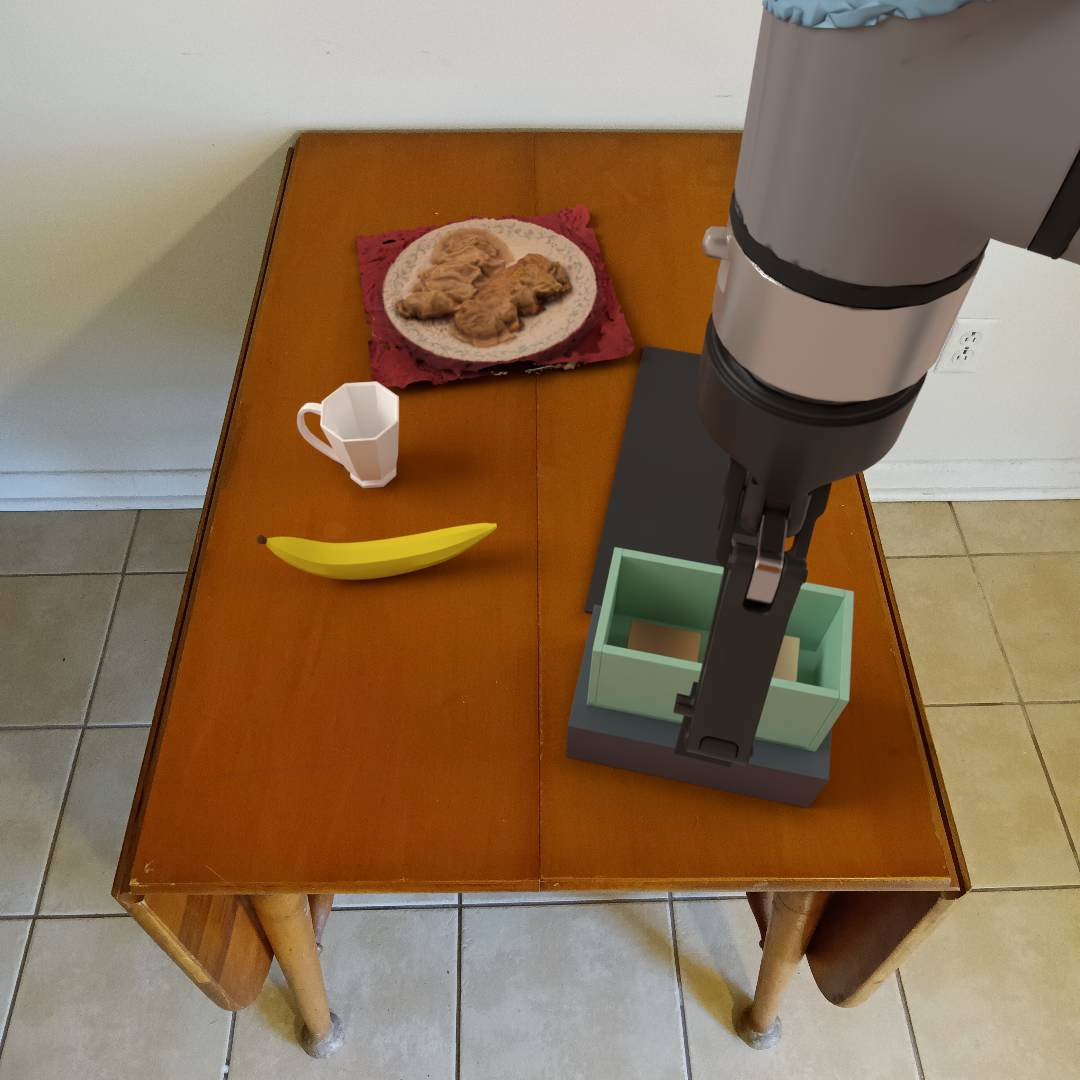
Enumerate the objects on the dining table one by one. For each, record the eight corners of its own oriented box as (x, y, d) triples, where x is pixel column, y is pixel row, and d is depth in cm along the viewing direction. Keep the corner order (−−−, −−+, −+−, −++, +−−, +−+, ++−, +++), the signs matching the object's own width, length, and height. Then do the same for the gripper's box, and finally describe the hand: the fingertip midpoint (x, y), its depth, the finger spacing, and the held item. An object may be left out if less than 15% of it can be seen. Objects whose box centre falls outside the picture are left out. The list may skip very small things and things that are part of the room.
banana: (501, 572, 80) (499, 529, 75) (274, 595, 79) (255, 553, 74) (498, 543, 82) (495, 500, 77) (275, 565, 81) (257, 523, 75)
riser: (816, 685, 74) (836, 650, 69) (808, 808, 69) (829, 780, 64) (590, 640, 77) (594, 604, 72) (565, 756, 71) (567, 725, 66)
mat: (784, 369, 93) (785, 367, 93) (755, 645, 76) (755, 643, 76) (643, 347, 95) (644, 345, 95) (584, 612, 78) (584, 610, 78)
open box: (822, 650, 69) (854, 591, 62) (815, 752, 65) (849, 700, 58) (607, 608, 71) (614, 546, 64) (586, 705, 67) (592, 649, 60)
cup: (394, 509, 84) (382, 451, 77) (291, 481, 85) (270, 422, 79) (424, 450, 88) (414, 390, 81) (324, 424, 89) (307, 363, 82)
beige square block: (787, 664, 68) (800, 637, 65) (783, 714, 66) (796, 690, 63) (731, 653, 69) (741, 626, 65) (725, 703, 67) (735, 678, 63)
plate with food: (635, 366, 94) (639, 340, 91) (374, 396, 91) (369, 370, 88) (585, 216, 107) (587, 189, 104) (356, 237, 104) (351, 210, 101)
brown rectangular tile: (697, 648, 69) (701, 633, 67) (690, 693, 67) (695, 678, 65) (628, 635, 69) (631, 619, 67) (620, 679, 68) (623, 664, 66)
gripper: (757, 108, 39) (693, 440, 57) (635, 620, 26) (601, 848, 43) (944, 134, 38) (820, 465, 56) (920, 684, 25) (766, 891, 42)
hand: (724, 633), depth 50 cm, fingers open, 13 cm apart
